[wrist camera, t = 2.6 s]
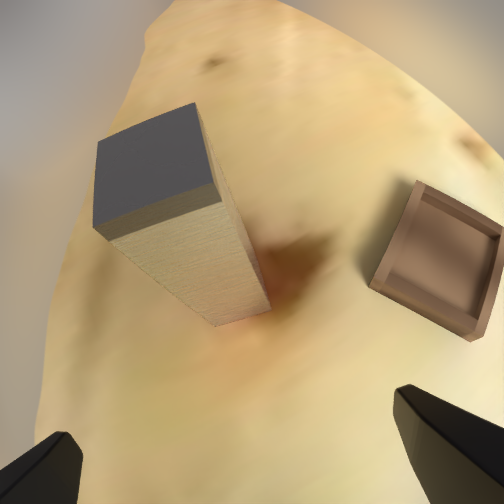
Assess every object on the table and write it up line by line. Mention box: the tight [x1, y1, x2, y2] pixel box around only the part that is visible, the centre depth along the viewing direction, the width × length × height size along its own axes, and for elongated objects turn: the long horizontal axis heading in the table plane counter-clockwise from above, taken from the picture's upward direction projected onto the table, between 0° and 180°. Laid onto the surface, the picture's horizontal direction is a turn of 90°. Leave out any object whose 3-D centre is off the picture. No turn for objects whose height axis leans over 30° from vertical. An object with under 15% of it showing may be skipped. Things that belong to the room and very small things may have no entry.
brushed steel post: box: [93, 102, 272, 327], centre depth 16 cm, size 4×4×14 cm
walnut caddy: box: [369, 180, 504, 342], centre depth 20 cm, size 9×9×2 cm
